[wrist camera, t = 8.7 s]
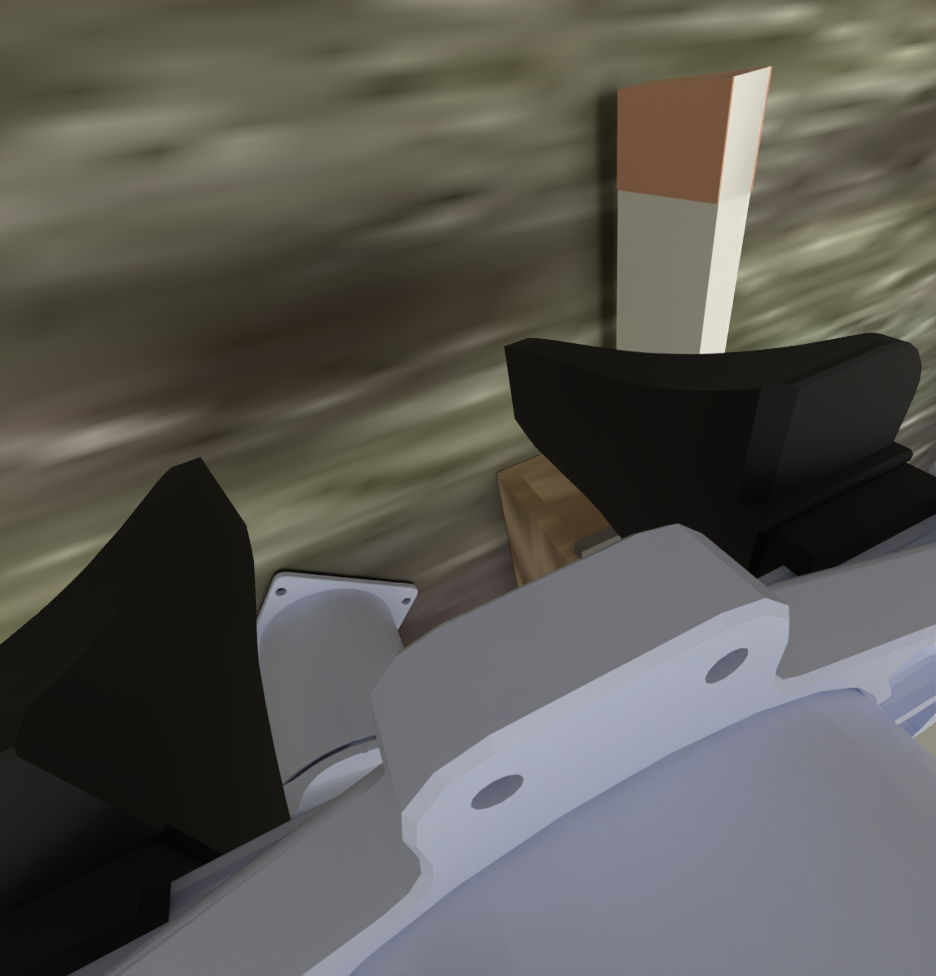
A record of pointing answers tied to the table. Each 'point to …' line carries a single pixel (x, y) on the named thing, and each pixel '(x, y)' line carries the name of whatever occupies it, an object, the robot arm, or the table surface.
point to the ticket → (684, 206)
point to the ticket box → (548, 519)
